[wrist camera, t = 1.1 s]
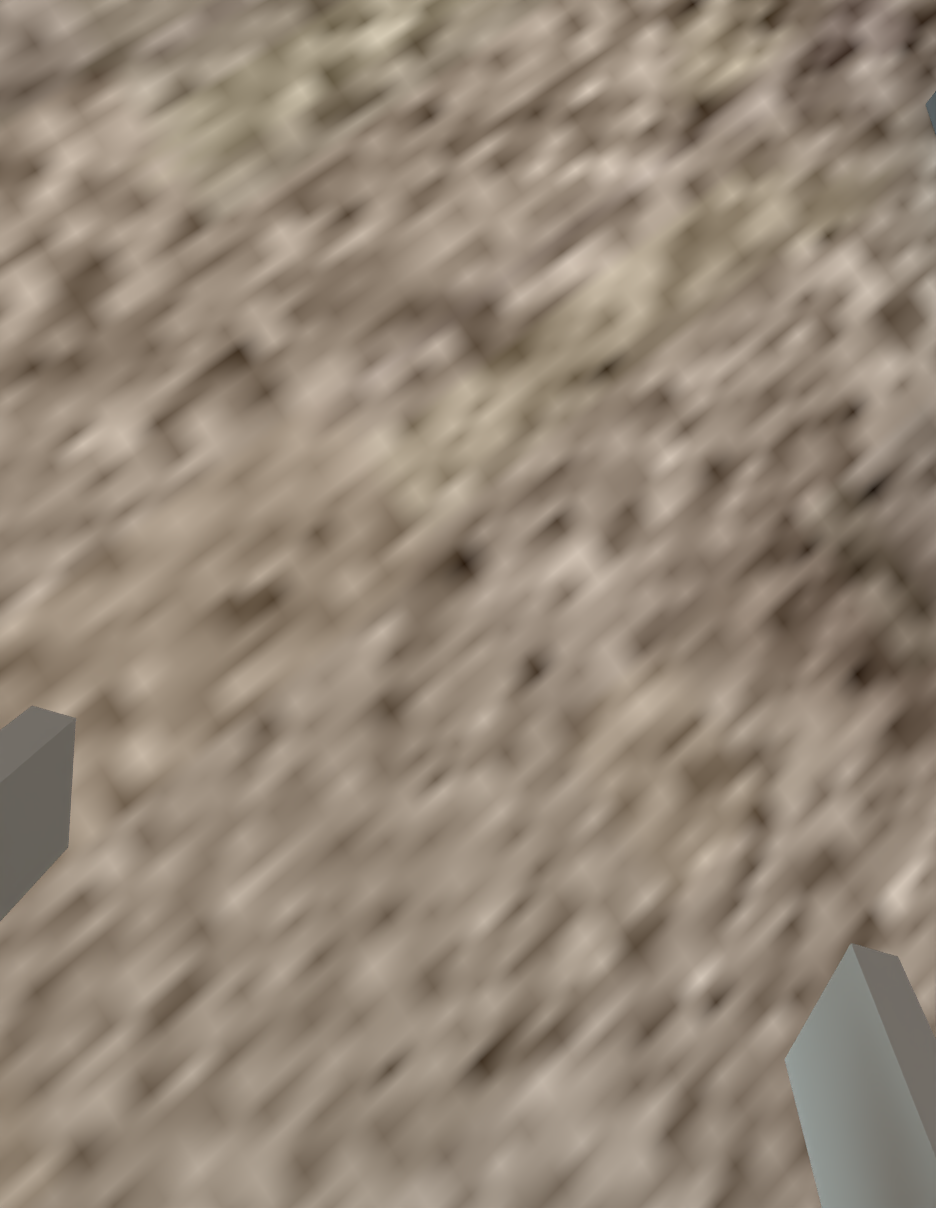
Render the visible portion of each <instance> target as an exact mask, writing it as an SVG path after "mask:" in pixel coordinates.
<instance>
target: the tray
mask: <svg viewBox="0 0 936 1208" xmlns="http://www.w3.org/2000/svg"><path fill="white" fill-rule="evenodd" d="M926 107H927V110H928V113H929V116H930V119H931V122H932V125H933V128H934V131H935V134H936V92H935V93H934V94H933V95H932V97H931V98H930V99H929V101H928V102H927V103H926Z"/></svg>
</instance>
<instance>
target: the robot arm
mask: <svg viewBox="0 0 936 1208" xmlns="http://www.w3.org/2000/svg"><path fill="white" fill-rule="evenodd" d="M75 724H76V718H73V717H70V716H66V715H63V714H59V713H56V712H53V711H49V710H46V709H42V708H39V707H35V706H31V707H30V708H28V709H27V710H26V711H25V712H23V713H22V714H21V715H19V716H18V717H17V718H15V719H14V720H13V721H11V722H10V723H9V724H8V725H6V726H5V727H4V728H2V729H1V730H0V921H1V920H2V919H3V918H4V917H5V916H6V915H7V914H8V912H9V911H10V910H11V909H12V908H13V907H14V906H15V905H16V904H17V903H18V902H19V900H20V899H21V898H22V897H23V896H24V895H25V894H26V893H27V892H28V891H29V890H30V888H31V887H32V886H33V885H34V884H35V883H36V882H37V881H38V880H39V879H40V878H41V876H42V875H43V874H44V873H45V872H46V871H47V870H48V869H49V868H50V867H51V866H52V864H53V863H54V862H55V861H56V860H57V859H58V858H59V857H60V856H61V855H62V854H63V852H64V851H65V850H66V849H67V848H68V842H69V825H70V808H71V791H72V775H73V758H74V741H75ZM785 1063H786V1067H787V1071H788V1075H789V1079H790V1083H791V1087H792V1091H793V1094H794V1098H795V1102H796V1106H797V1110H798V1114H799V1118H800V1122H801V1126H802V1130H803V1134H804V1138H805V1142H806V1146H807V1150H808V1154H809V1158H810V1162H811V1166H812V1170H813V1174H814V1178H815V1182H816V1186H817V1190H818V1194H819V1198H820V1202H821V1206H822V1208H936V1039H935V1037H934V1034H933V1032H932V1030H931V1028H930V1026H929V1024H928V1021H927V1019H926V1017H925V1015H924V1013H923V1010H922V1008H921V1006H920V1004H919V1002H918V999H917V997H916V995H915V993H914V991H913V989H912V986H911V984H910V982H909V980H908V978H907V975H906V973H905V971H904V969H903V967H902V964H901V962H900V960H899V958H898V957H897V956H894V955H890V954H887V953H883V952H880V951H877V950H873V949H870V948H866V947H863V946H859V945H856V944H852V943H851V944H850V946H849V948H848V949H847V951H846V953H845V955H844V956H843V958H842V960H841V962H840V963H839V965H838V967H837V969H836V970H835V972H834V974H833V976H832V977H831V979H830V981H829V983H828V984H827V986H826V988H825V990H824V991H823V993H822V995H821V997H820V998H819V1000H818V1002H817V1004H816V1005H815V1007H814V1009H813V1011H812V1012H811V1014H810V1016H809V1018H808V1019H807V1021H806V1023H805V1025H804V1026H803V1028H802V1030H801V1032H800V1033H799V1035H798V1037H797V1039H796V1040H795V1042H794V1044H793V1046H792V1048H791V1049H790V1051H789V1053H788V1055H787V1056H786V1058H785Z"/></svg>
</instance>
